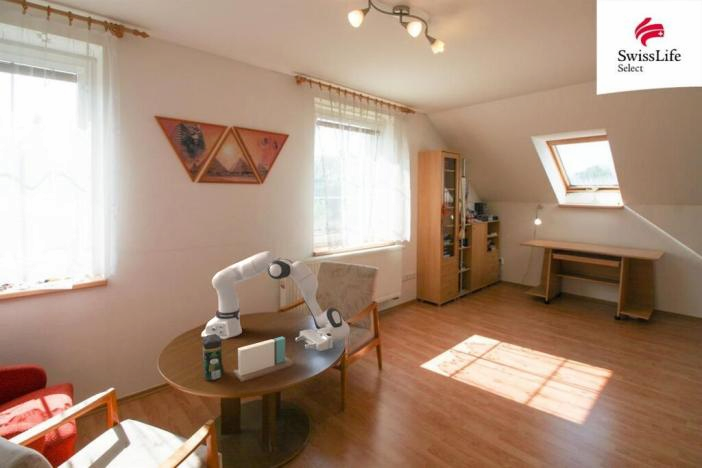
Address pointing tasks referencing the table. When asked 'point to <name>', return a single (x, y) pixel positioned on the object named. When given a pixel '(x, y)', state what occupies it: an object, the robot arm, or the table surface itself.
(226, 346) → the table surface
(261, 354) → the stand
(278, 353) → the teal rectangular block
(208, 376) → the coffee jar
